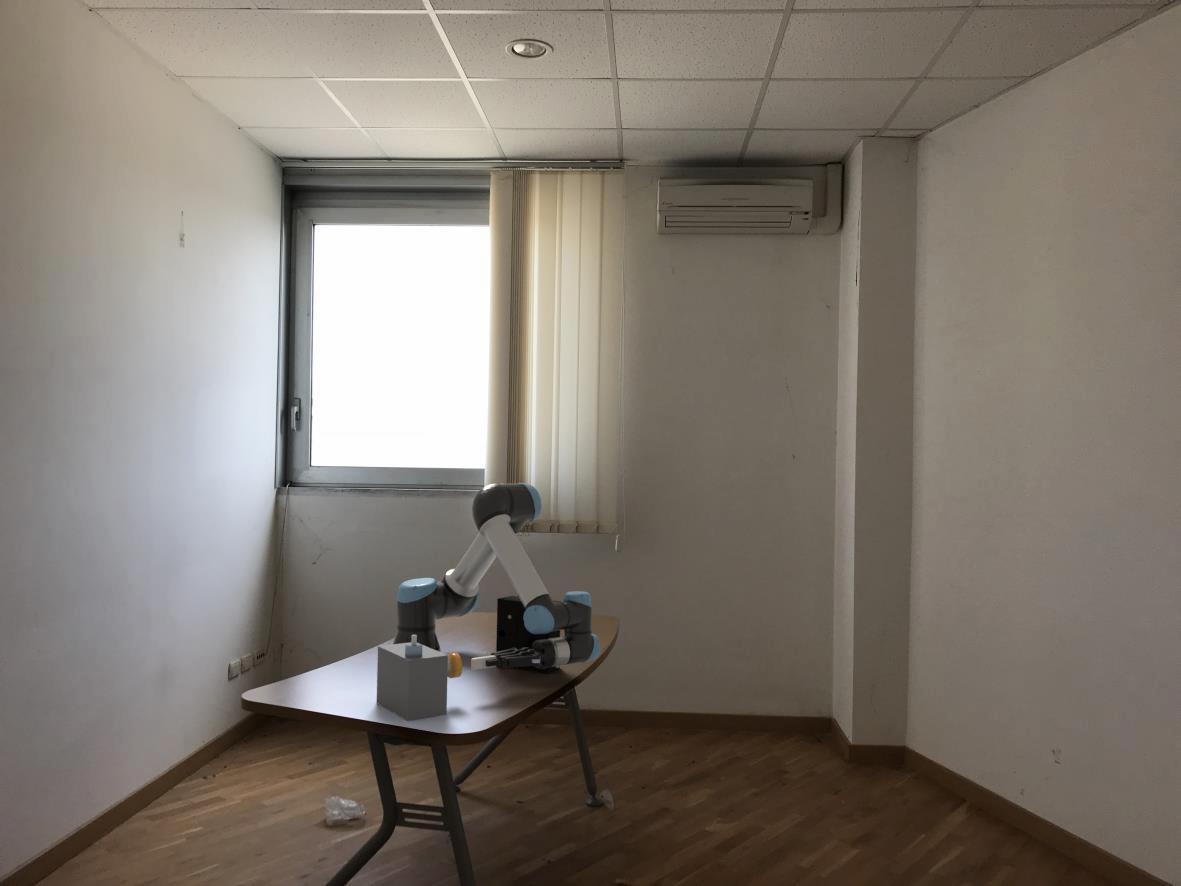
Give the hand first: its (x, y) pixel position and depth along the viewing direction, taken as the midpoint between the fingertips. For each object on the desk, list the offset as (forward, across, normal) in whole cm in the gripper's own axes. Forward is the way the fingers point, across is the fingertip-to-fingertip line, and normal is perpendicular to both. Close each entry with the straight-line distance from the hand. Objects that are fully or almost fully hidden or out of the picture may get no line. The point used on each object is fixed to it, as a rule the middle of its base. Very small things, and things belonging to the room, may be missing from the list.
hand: (472, 664), depth 221 cm
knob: (+8, +1, -3) cm, 9 cm away
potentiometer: (+19, -4, +5) cm, 20 cm away
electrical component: (-31, +20, -9) cm, 38 cm away
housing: (+17, +1, -9) cm, 19 cm away
